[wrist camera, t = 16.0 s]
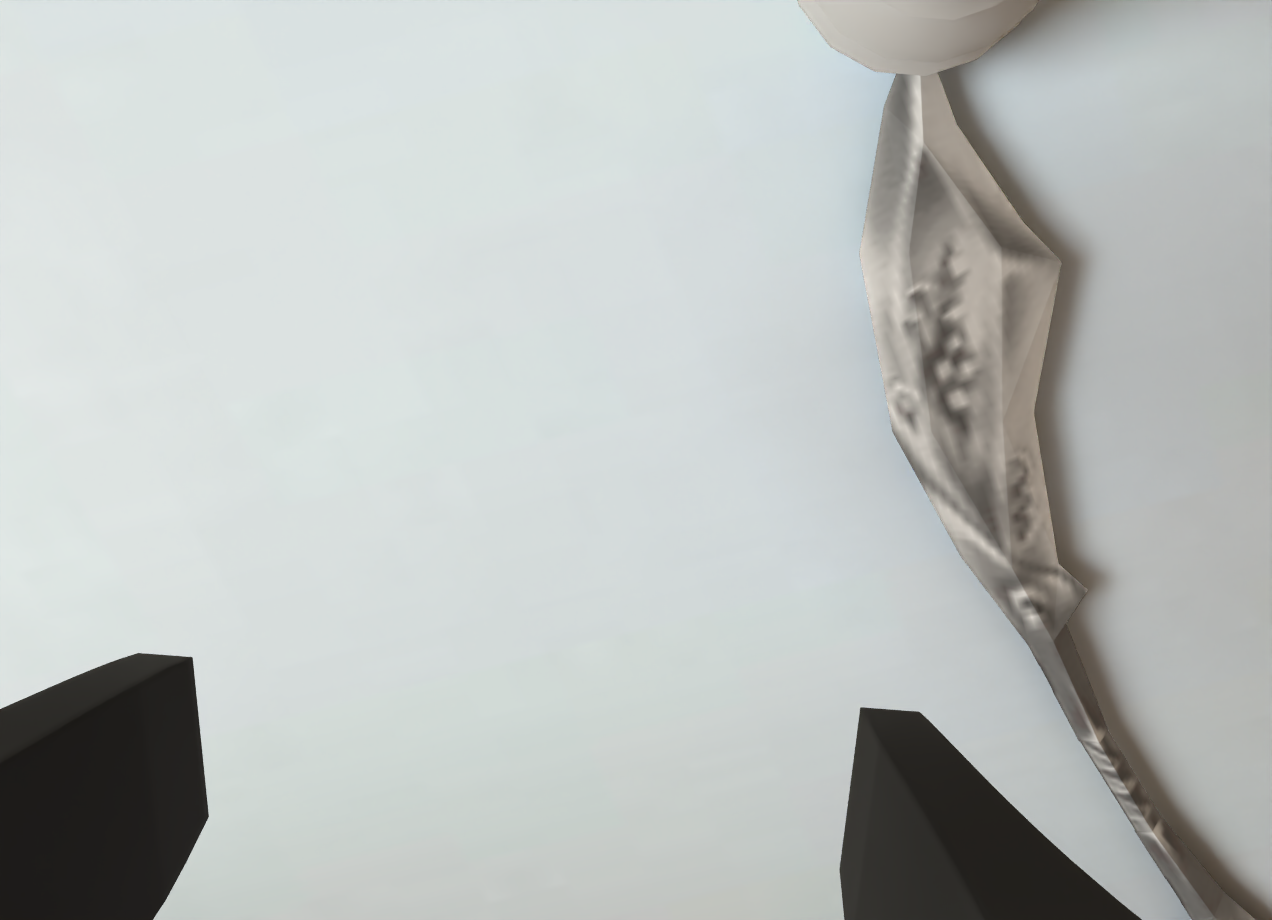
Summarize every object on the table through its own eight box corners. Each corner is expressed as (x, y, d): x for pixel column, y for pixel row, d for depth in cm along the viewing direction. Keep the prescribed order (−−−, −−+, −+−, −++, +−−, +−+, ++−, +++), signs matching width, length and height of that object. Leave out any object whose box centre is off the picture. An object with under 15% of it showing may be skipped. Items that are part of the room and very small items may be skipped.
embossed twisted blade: (936, 5, 18) (690, 155, 19) (944, 1, 17) (689, 156, 18) (1505, 1216, 25) (1306, 1275, 26) (1524, 1242, 24) (1319, 1301, 25)
